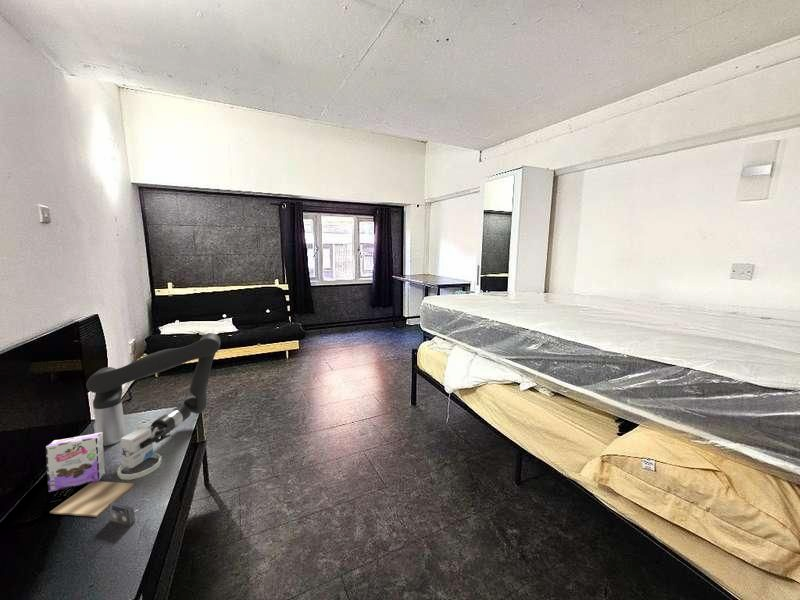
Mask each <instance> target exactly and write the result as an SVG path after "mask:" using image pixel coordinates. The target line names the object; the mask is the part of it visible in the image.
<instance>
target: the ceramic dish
mask: <svg viewBox="0 0 800 600" xmlns="http://www.w3.org/2000/svg"><path fill="white" fill-rule="evenodd" d="M150 458H151V459H154V458H155V459H157V460H158V461H157V462H156V463H154V464H153V465H152V466H151V467H149V468H146V469H144V470H142V471H139V472H136V473H135V472H134V473H129V474H128V473H122V471H123V470H124V469H125V468H126V467H125V466H123V463H122V464H120V465H119V467H118V468H117V470H116V473H117V477H118V478H119V479H120V480H128V481H129V480H134V479H138V478H142V477H145V476H146V475H149V474H151V473H153V472H155V471H156V470H157V469H158V468H159V467H160V466H161V464H162V462H163V460H162V459H163V457H162V455H160V454H159V453H158V452H153V455H152V456H150V457H149V458H148V459H150Z"/></svg>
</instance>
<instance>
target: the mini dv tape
mask: <svg viewBox="0 0 800 600" xmlns="http://www.w3.org/2000/svg"><path fill="white" fill-rule="evenodd" d="M108 505H109V507H108V511H109V512H108V513H109V519H110V521H111V522H113V523H117V524H121V525H124V526H127V527H132V526H133V525H134V524H135V523H136V520H135V519H136V518H135V509H134V507H133V506H130V505H128V504H127V505H126V504H124V503H120V502H116V501H115V502H111V503H110V504H108Z"/></svg>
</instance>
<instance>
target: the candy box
mask: <svg viewBox="0 0 800 600" xmlns="http://www.w3.org/2000/svg"><path fill="white" fill-rule="evenodd" d="M104 452H105V451H104V446H103V432H99V433H95V432H94V433H91V434H85V435H77V436H73V437H68V438H61V439H54V440H53V441H50V443H49V444H47V445H46V446H45V455H46V456H45V458H46V475H47V486H48V487H47V489H48V493H51V492H55V491H58V490H59V491H60V490H64V489H69V488H72V486H73V487H77V486H81V485H85V484H90V483H91V482H95V481H101V480H102V478H103V477H104V475H106V471H105V454H104Z"/></svg>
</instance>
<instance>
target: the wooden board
mask: <svg viewBox="0 0 800 600" xmlns="http://www.w3.org/2000/svg"><path fill="white" fill-rule="evenodd" d="M134 486H136V485H135V483H132V482H128V483H127V482H117V481H116V482H113V481H102V480H99V481H95V482H91V483H87V485H86V486H84V487H83V488H81V489H80V490H78V491H77V492H76V493H74V494H73V495H72V496H69V498H67V499H65V500H64V501H63V502H61V503H60V504H58V505H57V506H56V507H54V508H52V510H50V511H49V514H50V515H51V514H54V515H67V516H68V515H70V516H81V517H82V516H83V517H92V518H93V517H95V518H96V517H98V516H99V515H101V514H102V512H104V511H105V510H107V508H108V509H109V505H108V504H110V503H111V502H116V501H117V500H119V499H120V498H122V496H124V495H125V494H126V493H127V492H128V491H129V490H131V489H132V488H134Z"/></svg>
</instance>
